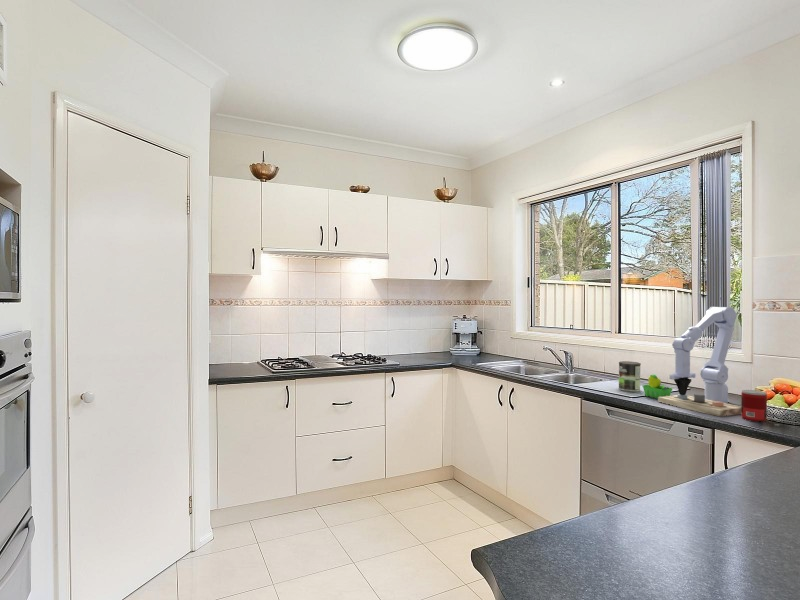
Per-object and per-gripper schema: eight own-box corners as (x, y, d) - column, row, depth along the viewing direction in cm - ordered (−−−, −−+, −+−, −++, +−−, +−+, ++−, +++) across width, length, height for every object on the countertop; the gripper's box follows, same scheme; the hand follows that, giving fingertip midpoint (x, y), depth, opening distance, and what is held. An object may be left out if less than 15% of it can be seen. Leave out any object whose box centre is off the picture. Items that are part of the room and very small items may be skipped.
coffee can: (625, 391, 241) (626, 364, 241) (614, 387, 251) (614, 361, 251) (644, 391, 242) (645, 363, 242) (632, 387, 252) (633, 361, 252)
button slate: (681, 401, 217) (681, 393, 217) (689, 403, 213) (689, 395, 213) (675, 402, 215) (675, 394, 215) (683, 404, 212) (683, 396, 212)
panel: (682, 399, 223) (682, 394, 223) (745, 413, 197) (745, 407, 197) (657, 402, 217) (658, 396, 217) (719, 416, 191) (719, 410, 191)
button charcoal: (698, 401, 209) (698, 393, 209) (707, 403, 206) (707, 395, 206) (692, 402, 208) (692, 394, 208) (700, 404, 204) (701, 396, 204)
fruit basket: (673, 399, 224) (673, 375, 224) (661, 400, 220) (661, 376, 220) (651, 394, 235) (651, 371, 235) (639, 396, 231) (639, 372, 231)
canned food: (770, 422, 182) (771, 394, 182) (747, 421, 184) (747, 393, 184) (759, 417, 190) (760, 390, 190) (737, 416, 191) (737, 389, 191)
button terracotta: (716, 409, 202) (716, 400, 202) (725, 411, 198) (725, 402, 198) (710, 409, 201) (710, 401, 201) (719, 412, 197) (719, 403, 197)
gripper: (679, 366, 208) (679, 397, 208) (702, 364, 213) (701, 394, 213) (665, 364, 214) (665, 394, 214) (687, 362, 220) (687, 391, 220)
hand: (682, 394), depth 214 cm, fingers closed
